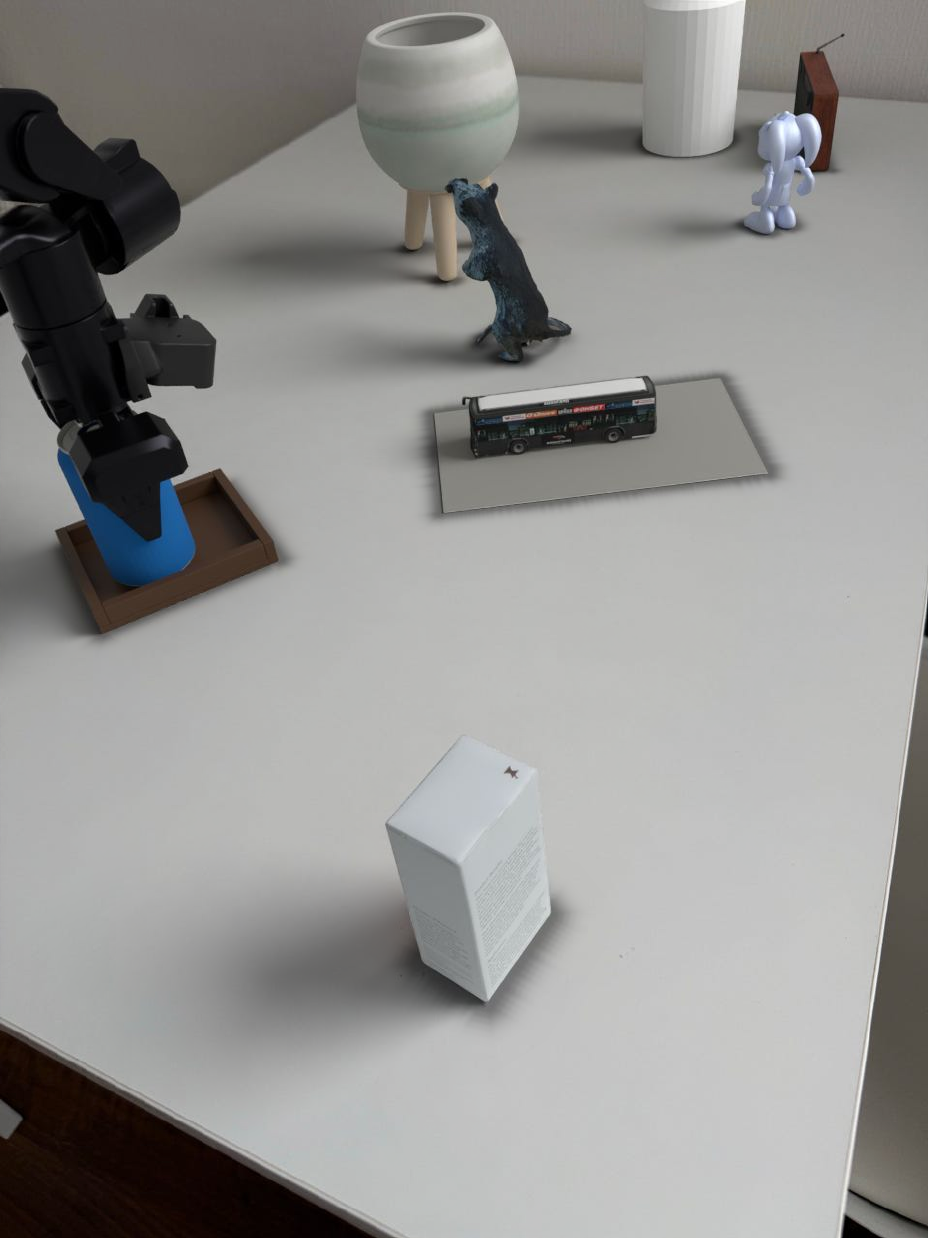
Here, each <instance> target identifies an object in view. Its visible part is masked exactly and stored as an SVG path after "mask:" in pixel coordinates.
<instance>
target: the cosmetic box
mask: <svg viewBox="0 0 928 1238" xmlns="http://www.w3.org/2000/svg"><path fill="white" fill-rule="evenodd" d="M384 825H385V829H386V832H387V836H388V841H389V844H390V847H391V851H392V855H393V858H394V862H395V866H396V869H397V874H398V876H399V880H400V885H401V888H402V892H403V896H404V899H405V903H406V906H407V911H408V914H409V919H410V921H411V925H412V928H413V932H414V937H415V940H416V944H417V948H418V951H419V955H420V959H421V961H422V962H423V964H424V965H426V966H427V967H429V968H431V969H432V970H434V971H436V972H437V973H439V974H441V975H442V976H444V977H445V978H446V979H448V980H451V981H452V982H454V983H455V984H457V985H458V986H460V987H461V988H463V989H464V990H466V992H469V993H470V994H471V995H474V996H475V997H476V998H478V999H480V1000H481V1001H483V1002H485V1003H488V1002H489V1001H490V999H491V998H492V997H493V995H494V994H495V992H496V991H497V989H498V988H499V986H500V985H501V984H502V983H503V981H504V980H505V979H506V977H507V975H508V974H509V973H510V971H511V970H512V969H513V967H514V966H515V965H516V963H517V961H518V960H519V958H520V957H521V956H522V954H523V953H524V952H525V950H526V949H527V947H528V946H529V944H530V943H531V942H532V941H533V939H534V937H535V936H536V935H537V933H538V932H539V930H540V929H541V928H542V926H543V925H544V924H545V922H546V921H547V919H548V918H549V917H550V916H551V913H552V908H551V897H550V896H551V895H550V887H549V886H550V885H549V876H548V875H549V874H548V865H547V854H546V845H545V834H544V823H543V813H542V801H541V790H540V779H539V771H538V769H537V768H536V767H534V766H532V765H530V764H527V763H525V762H523V761H521V760H518V759H516V758H514V757H512V756H510V755H508V754H506V753H504V752H502V751H499V750H498V749H496V748H494V747H491V746H489V745H487V744H485V743H483V742H481V741H479V740H476V739H474V738H472V737H470V736H468V735H466V734H462V735H460V736H459V738H458V739H457V740H456V741H455V742H454V744H453V745H451V746H450V748H449V749H448V750H447V751H446V752H445V754H444V755H442V757H441V758H440V759H439V760H438V762H437V763H436V764H435V765H434V766H433V767H432V769H431V770H430V771H429V772H428V773H427V775H426V776H425V777H424V778H423V779H422V780H421V782H420V783H419V784H418V786H416V787H415V789H414V790H413V791H412V792H411V793H410V795H409V796H407V798H406V799H405V800H404V801H403V803H402V804H401V805H400V806H399V807H398V808H397V809H396V810H395V812H394V813H393V814H392V815H391V816H390V817H389V818H388V819H387V820H386V821H385V824H384Z"/></svg>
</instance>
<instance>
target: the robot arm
mask: <svg viewBox="0 0 928 1238" xmlns="http://www.w3.org/2000/svg"><path fill="white" fill-rule="evenodd" d="M1 201H2V202H12V203H23V204H18V205H14V206H13V207H10V208H9V209H7V210H5V211H4V212H2V213H0V293H1V296H2V298H3V300H4V302H5V305H6V307H7V310H8V312H9V314H10V316H11V319H12V322H13V323H12V327H13V328H14V331H15V333H16V335H17V338H18V340H19V342H20V344H21V346H22V347H23V349H24V351H25V353H24V356H23V358H22V360H21V362H20V364H21V365H22V368H23V371H24V373H25V375H26V377H27V380H28V382H29V385H30V387H31V389H32V391H33V392H34V395H35V396H36V398H37V401H39V402H40V404H41V406H42V408H43V410H44V412H45V413H46V416H47V417H48V419H50V421H52V423H53V424H54V425H55V426H56V427H57V428H58V429H59V431H60V430H61V429H62V428H63V427H64V426H65V425H66V424H67V423H68V422H71V421H75V422H76V424H77V426H78V427H84V426H87V425H90V424H92V423H93V421H95V420H96V421H97V423H98V425H99V427H100V428H97V429H94V430H91V431H88V432H85V433H82V434H80V435H78V436H77V438H76V440H75V442H74V444H73V446H72V447H71V449H70V451H69V454H70V457H71V459H72V462H73V464H74V466H75V469H76V471H77V473H78V475H79V477H80V479H81V482H82V484H83V486H84V487H85V489H86V491H87V493H88V495H89V497H90V499H91V501H92V503H102V504H103V505H105V506H106V507H107V508H108V509H110V510H111V511H112V512H113V513H114V514H116V515H117V516H118V517H119V518H120V519H121V520H123V521H124V522H125V523H126V524H127V525H128V526H129V527H131V528H132V529H133V530H134V531H135V532H136V533H137V534H139V535H140V536H141V537H142V538H143V539H144V540H145V541H147V542H150V541H152V540H155V539H158V538H160V537H161V536H162V527H161V503H160V483H161V482H163V481H165V480H168V479H171V480H172V479H173V478H176V477H179V476H182V475H184V474H185V472H186V471H187V470H188V468H189V467H190V466H189V463H188V459H187V457H186V454H185V451H184V448H183V445H182V442H181V440H180V439H179V437H178V436H177V435H176V433H175V432H174V430H173V429H172V428H171V426H170V424H169V423H168V422H167V420H166V419H165V418H163V417H161V416H159V415H157V414H154V413H151V412H149V411H147V410H146V411H145V410H144V411H143V412H140V413H137V415H135V414H134V412H133V411H132V410H133V409H132V408H131V406H130V405H129V403H128V402H131V403H133V404H136V403H139V402H143V401H145V400H147V399H150V398H152V397H153V396H152V393H151V390H150V387H149V386H153V387H194V388H195V389H197V390H206V389H209V388H212V387H213V385H214V378H215V377H214V376H215V367H216V366H215V365H216V354H217V353H216V351H217V339H216V337H215V336H213V335H212V333H211V332H210V331H209V330H208V328H206V327H205V325H204V324H203V323H202V322H201V321H199V320H196V319H193V318H192V317H191V315H189V314H182V317H180V316H179V313H178V311H177V309H176V306H175V305H174V302H172V300H171V299H170V298H169V297H168V296H167V295H166V294H164V293H163V294H162V293H145V294H144V296H143V297H142V299H141V301H140V303H139V304H138V306H137V308H136V310H135V311H134V312H130V313H129V317H125V318H123V317H122V318H117V316H116V315H115V312H114V309H113V306H112V305H111V303H110V302H109V301H108V298H107V296H106V293H105V290H104V287H103V284H102V281H101V278H100V276H99V274H101V275H105V276H112V275H117V274H119V273H121V272H123V271H124V270H126V269H127V268H129V267H131V265H133V264H134V263H135V262H137V261H139V260H140V259H142V258H143V257H144V256H146V255H147V254H149V253H150V252H151V251H152V250H154V249H156V248H157V247H159V246H161V244H162V243H164V242H165V241H167V240H168V239H170V238H171V237H172V236H174V235H175V234H176V232H177V231H178V229H179V227H180V225H181V218H182V217H181V215H182V210H181V203H180V199H179V196H178V193H177V192H176V190H175V189H173V188H172V187H171V184H170V182H169V181H168V179H166V177H165V175H164V174H163V172H161V171H160V170H159V169H158V168H157V167H156V166H155V165H154V164H152V163H151V162H149V161H148V160H146V159H145V158H143V157H141V154H140V150H139V148H138V144H137V141H136V140H135V139H133V138H122V137H121V138H120V137H109V138H107V139H105V140H104V141H102V142H100V143H99V144H97V145H96V147H95V148H94V149H93V150H92V148H90V146H88V144H86V143H85V142H84V141H83V140H82V139H81V138H80V137H79V136H78V135H77V134H75V132H73V130H71V128H69V127H68V125H66V124H65V122H64V120H63V119H62V118H61V116H60V114H59V107H58V105H57V103H56V102H55V101H54V100H53V99H51V98H50V97H49V96H48V95H46V94H45V93H42V92H41V91H39V90H36V89H32V88H15V87H0V202H1ZM34 204H35V205H34ZM37 205H40V206H37ZM115 414H116V415H117V417H118V418H119V420H120V421H118V419H117V417H116V416H115Z"/></svg>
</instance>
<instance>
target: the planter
mask: <svg viewBox="0 0 928 1238" xmlns="http://www.w3.org/2000/svg"><path fill="white" fill-rule="evenodd" d="M355 84H356V85H355V96H356V97H355V99H356V100H355V101H356V102H355V103H356V104H355V105H356V115H357V120H358V126H359V130H360V134H361V135H360V136H361V137H362V138H361V139H362V140H363V143H364V145H365V147H366V150H367V152H368V154H369V155H370V157H371V158H372V160H373V161H374V162H375V164H376V165H377V167H379V168H380V169H381V170H382V172H383V173H385V174H386V175H387V176H388V177H389V178H390V179H392V180H393V181H394V182H396V183H398V185H399V186H400V187H401V188H402V189H404V190H406V205H405V206H406V207H405V220H404V232H403V233H404V234H403V235H404V240H403V241H404V242H403V243H404V244H403V245H404V246H405V248H407V249H408V250H411V251H412V250H413V251H414V250H418V249H420V248H421V247H422V246H423V245H424V239H425V233H426V224H427V219H428V214H429V213H428V212H429V206H430V216H431V227H432V234H433V245H434V246H433V247H434V255H435V265H436V272H437V277H438V278H439V279H440V280H442V281H444V282H449V281H452V280H455V278H456V277H457V275H458V249H457V248H458V247H457V246H458V245H457V240H458V239H457V215H456V212H455V206H454V199H453V194H452V193H447V191H446V190H445V186H446V185H448V182H449V181H450V180H452V179H455V178H457V179H460V178H466V179H467V180H468V185H472V184H476V183H477V184H479V185H480V186H481V187H482V188H483V189H484V190H485V188H487V187H489V186H490V185H491V184H492V183H493V182H492V180H491V176H492V175H493V172H494V171H495V170H497V168H498V167H499V166H500V165H501V164H502V162H503V160H505V158H506V157H507V154H508V153H509V150H510V149H511V147H512V145H513V142H514V140H515V137H516V134H517V130H518V126H519V118H520V96H519V85H518V81H517V76H516V71H515V67H514V62H513V60H512V57H511V53H510V51H509V47H508V45H507V43H506V41H505V38H504V35H503V34H502V32H501V30H500V28H499V27H498V25H497V24H496V22H495V21H494V20H493V18H491V17H489V16H487V15H484V14H480V13H474V12H463V11H457V12H456V11H453V12H452V11H451V12H435V13H434V12H433V13H427V14H425V13H424V14H419V15H413V16H408V17H404V18H399V19H396V20H393V21H389V22H386V23H384V24H381V25H379V26H376V27H375V28H374V29H372V30H371V31H369V32H368V33H367V34H366V36H365V37H364V40H363V43H362V47H361V49H360V54H359V59H358V65H357V73H356V83H355ZM495 203H496V205H497V208H498V211H499V214H500V217H501V219H502V221H503V223H504V225H505V226H506V224H505V223H506V222H505V221H504V217H503V215H502V212H501V208H500V206H499V203H498V199H497V198H496V199H495Z"/></svg>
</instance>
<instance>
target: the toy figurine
mask: <svg viewBox="0 0 928 1238" xmlns="http://www.w3.org/2000/svg"><path fill="white" fill-rule="evenodd" d="M793 114H794V113H793ZM793 114H792V113H791V112H789V111H788V110H785V111H782V112H779V113H775V114H774V115H771V116H770V117H769V119H768V120H767V121H766V122H765V123H763V125H762V126H761V128H760V129H759V130H758V134H757V135H758V145H757V154H758V156H759V157H760V158H761V159H763V160H766V161H769V162H767V163H766V164H764V166H763V170H762V172H763V175H764V185H763V186H762V187H761V188H760V189H759V190H758V191H754V192H753V193H752V194H751V204H752V205H753V206H756V207H760V210H759V211H752V212H750V213H748V214H747V215H746V217H745V218H744V221H743V225H744V227H746V228H749V229H750V230H752V231H755V232H756V233H759V234H763V235H770V234H772V233H773V232H774V231H775V228H776V226H775V225H776V224H777V226H778V227H779V228H782V229H794V227H795V226H796V224H797V220H796V219H797V218H796V214H795V211H794V209H793V207H792V206H791V205H790V201H791V193H792V186H793V176H794V173H795V171H799V172H800V173H801V175H803V177H804V178H803V180H802V181H801V183H800V184H799V185H798V187H796V193H797V195H798V196H800V197H803V196H806V195H809V194H810V193H811V192H812V191H813V190H814V188H815V184H816V180H815V176H814V174H813V172H812V171H811V170H810V169H809V168H808V167H809V166H810V165H811V164H812V163H813V162H814V160H815V158H816V156H817V154H818V151H819V147H820V143H821V130H820V126H819V124H818V121H817V120H816V118H815V117H814V116H813V115H811V114H801V115H799V116H797V117H796V116H795V115H793ZM803 146H804V150H805V161H804V159H803V158H802V157H801V155H798V154H800V151H801V149H802V148H803Z"/></svg>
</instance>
